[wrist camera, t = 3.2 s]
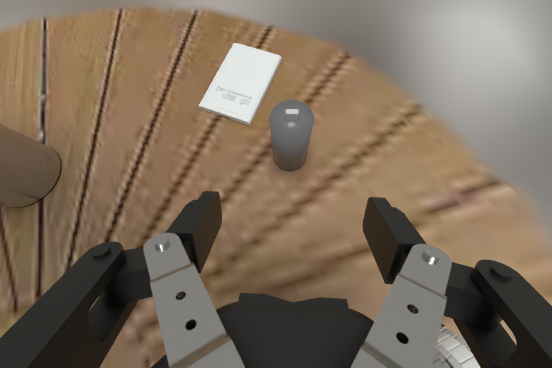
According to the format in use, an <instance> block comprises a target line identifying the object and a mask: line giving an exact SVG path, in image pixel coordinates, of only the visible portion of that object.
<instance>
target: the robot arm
mask: <svg viewBox="0 0 552 368" xmlns="http://www.w3.org/2000/svg"><path fill="white" fill-rule="evenodd" d="M59 173H60V159H59V156H58V155H57V153H56V152H55V151H54V150H53V149H52V148H50V147H48V146H46V145H44V144H42V143H40V142H38V141H36V140H33V139H31V138H29V137H27V136H25V135H23V134H21V133H19V132H17V131H15V130H12V129H10V128H8V127H6V126H4V125H2V124H0V205H2V206H7V207H23V206H27V205H30V204H33V203H34V202H36V201H38V200H40V199H41V198H42V197H44V196H45V195H46V194H47V193H48V192H49V191H50V190H51V189H52V187H53V186H54V184H55V183H56V181H57V179H58V176H59ZM221 223H222V212H221V204H220V196H219V192H216V191H204V192H203V193H202V194H201V196H200V197H199V199H198V200H193V201H191V202H190V203H188V204H187V205H186V206H185V207H184V208H183V210H182V212H180V214H179V215H178V217H177V218H176V219H175V221H174V222H173V223H172V225H171V226H170V227H169V229H168V230H167V231H166V233H163V234H159V235H156V236H154V237H152V238H151V239H149V240H148V241H147V242H146V243H145V245H144V247H141V248H136V249H130V250H124V249H123V247H122V245H121V244H120V243H118V242H106V243H102V244H99V245H97V246H95V247H93V248H91V249H90V250H88V251H87V252H86V253H85V254H84V255H83V256H82V257H81V258H80V259H79V260H78V261H77V262H76V263H75V264H74V265H73V266H72V267H71V268H70V269H69V270H68V271H67V272H66V273H65V274H64V275H63V276H62V277H61V278H60V279H59V280H58V281H57V282H56V283H55V284H54V285H53V286H52V287H51V288H50V289H49V290H48V291H47V292H46V293H45V294H44V295H43V296H42V297H41V298H40V299H39V300H38V301H37V302H36V303H35V304H34V305H33V306H32V307H31V308H30V309H29V310H28V311H27V312H26V313H25V314H24V315H23V316H22V317H21V318H20V319H19V320H18V321H17V322H16V323H15V324H14V325H13V326H12V327H11V328H10V329H9V330H8V331H7V332H6V333H5V334H4V335H3V336H2V337H1V338H0V368H99V367H100V366H101V364H102V362H103V360H104V359H105V357H106V355H107V353H108V352H109V350H110V348H111V346H112V345H113V343H114V341H115V339H116V338H117V336H118V334H119V332H120V331H121V329H122V327H123V326H124V324H125V322H126V320H127V319H128V317H129V315H130V313H131V312H132V310H133V308H134V306H135V305H136V303H137V301H138V300H140V299H144V298H148V297H153V299H154V303H155V307H156V312H157V316H158V320H159V325H160V329H161V333H162V338H163V342H164V346H165V351H166V354H165V355H164V356H163V357H162V358H161V359H160V360H159V361H158V362H157V363H155V364H154V365H153V366H152V367H151V368H432V363H433V359H434V354H435V350H436V346H437V341H438V337H439V332H440V328H441V324H442V319H443V315H444V316H447V317H450V318H453V320H454V322H455V324H456V325H457V327H458V329H459V331H460V332H461V334H462V336H463V338H464V340H465V341H466V343H467V345H468V347H469V348H470V350H471V352H472V354H473V355H474V357H475V359H476V361H477V363H478V364H479V366H480V368H552V306H551V305H550V304H549V303H548V302H547V301H546V300H545V299H544V298H543V297H542V296H541V295H540V294H539V293H538V292H537V291H536V290H535V289H534V288H533V287H532V286H531V285H530V284H529V283H528V282H527V281H526V280H525V279H524V278H523V277H522V276H521V275H520V274H519V273H518V272H516V271H515V270H513V269H512V268H510V267H508V266H506V265H504V264H502V263H499V262H496V261H492V260H480V261H478V262H477V264H476V266H475V268H472V267H468V266H464V265H461V264H457V263H453V262H452V261H451V259H450V258H449V256H448V255H447V254H446V253H444V252H443V251H442V250H440V249H438V248H436V247H434V246H431V245H427V244H426V242H425V241H424V240H423V238H422V237H421V236H420V234H419V233H418V232H417V230H416V229H415V228H414V227H413V225H412V224H411V222H410V221H409V220H408V218H407V217H406V216H405V214H404V213H403V212H401V211H400V210H398V209H397V208H395V207H391V205H390V204H389V202H388V201H387V200H386V198H378V197H370V198H369V199H368V201H367V206H366V210H365V215H364V219H363V232H364V235H365V237H366V239H367V242H368V244H369V246H370V249H371V251H372V253H373V256H374V258H375V261H376V263H377V265H378V268H379V270H380V272H381V275H382V277H383V279H384V282H385V284H393V285H392V287H391V289H390V291H389V293H388V295H387V297H386V299H385V301H384V303H383V305H382V307H381V309H380V311H379V313H378V315H377V317H376V319H375V321H373V320H371V319H370V318H368V317H367V316H365V315H363V314H361V313H360V312H357V311H355V310H353V309H349V308H348V303H347V299H337V298H315V299H310V300H304V301H299V302H289V301H286V300H282V299H279V298H276V297H272V296H269V295H265V294H248V293H240V296H239V301H238V302H235V303H231V304H228V305H226V306H223V307H221V308H220V309H218V310H215V308H214V306H213V303H212V301H211V299H210V297H209V295H208V293H207V291H206V288H205V286H204V284H203V282H202V280H201V278H200V276H199V274H198V273H201V271H202V269H203V266H204V264H205V262H206V259H207V257H208V255H209V252H210V250H211V248H212V245H213V243H214V241H215V238H216V236H217V234H218V231H219V229H220V227H221ZM98 297H99V299H98V300H97V301H96V299H97V298H98ZM95 301H96V303H95V304H94V305H93V303H94V302H95ZM92 305H93V307H92V308H91V306H92ZM90 308H91V309H90ZM89 310H90V311H89ZM502 319H503V320H504V322H505V323H506V324H507V326H508V327H509V328H510V330H511V331H512V332H513V334H514V336H515V338H516V342H517V346H516V344H515V343H514V341H513V340H512V339H511V337H510V336H509V335H508V333H507V332H506V331H505V329H504V328H503V327H502V325H501V324H500V322H501V321H502Z"/></svg>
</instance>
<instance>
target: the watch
mask: <svg viewBox="0 0 552 368" xmlns="http://www.w3.org/2000/svg"><path fill="white" fill-rule="evenodd" d="M472 357H473V358H472ZM470 358H471V359H470ZM432 368H480V366H479V364H478V363H477V361H476V359H475V357H474V355H473V354H472V352H471V350H470V348H469V347H468V345H467V343H466V341H465V340H464V339H463V338H462V337H460V336H458V334H456V333H454V332H452V331H450V330H448V329H447V327H445V326H444V325H443V324H441V328H440V332H439V337H438V341H437V346H436V350H435V354H434V359H433V363H432Z"/></svg>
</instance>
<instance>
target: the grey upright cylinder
mask: <svg viewBox="0 0 552 368" xmlns="http://www.w3.org/2000/svg"><path fill="white" fill-rule="evenodd" d="M313 123H314V116H313V113H312V111H311V109H310V108H309V107H308V106H307V105H306V104H305V103H303V102H301V101H297V100H287V101H283V102H281V103H279V104H278V105H276V106H275V107H274V108H273V110H272V112H271V114H270V128H271V138H272V147H273V156H274V161H275V163H276V165H277V166H278V167H279V168H281V169H283V170H285V171H294V170H297V169H299V168H300V167H301V166H302V165H303V164H304V162H305V159H306V155H307V150H308V146H309V141H310V136H311V132H312V127H313Z"/></svg>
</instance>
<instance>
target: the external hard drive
mask: <svg viewBox="0 0 552 368" xmlns="http://www.w3.org/2000/svg"><path fill="white" fill-rule="evenodd" d="M280 63H281V56H279V55H277V54H273V53H270V52H266V51H262V50H259V49H255V48H252V47H249V46H245V45H242V44H238V43H234V44H233V45H232V47H231V49H230V51H229V53H228V54H227V56H226V58H225V60H224V61H223V63H222V65H221V67H220V69H219V70H218V72H217V74H216V76H215V77H214V79H213V81H212V83H211V85H210V86H209V88H208V90H207V92H206V94H205V95H204V97H203V99H202V101H201V102H200V104H199V108H200V109H201V110H204V111H207V112H210V113H213V114H216V115H219V116H221V115H222V116H224V117H227V118H229V119H231V120H234V121H237V122H240V123H243V124H245V125H248V126H250V125H251V123H252V121H253V119H254V117H255V115H256V113H257V111H258V109H259V107H260V105H261V103H262V101H263V99H264V96H265V94H266V92H267V90H268V88H269V86H270V84H271V82H272V80H273V78H274V76H275V74H276V71H277V69H278V67H279V65H280Z"/></svg>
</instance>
